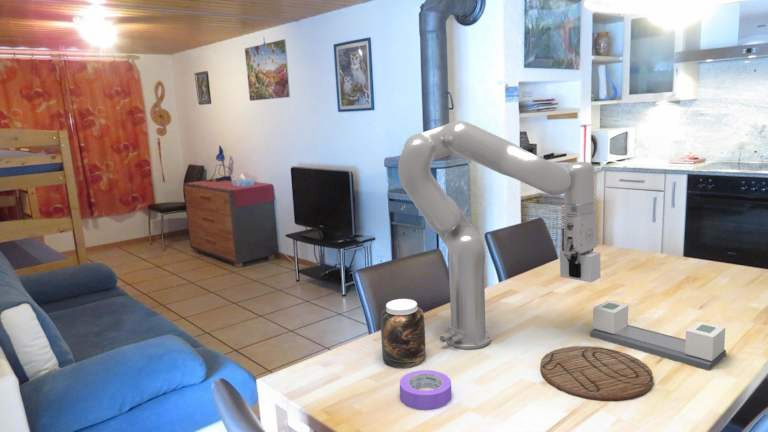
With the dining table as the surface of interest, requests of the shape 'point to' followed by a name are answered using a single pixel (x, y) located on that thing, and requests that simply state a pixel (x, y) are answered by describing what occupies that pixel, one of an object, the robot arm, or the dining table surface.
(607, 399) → the trivet
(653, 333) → the rail panel
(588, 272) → the module block
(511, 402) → the dining table surface
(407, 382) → the masking tape
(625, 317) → the mounted modules
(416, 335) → the jar
